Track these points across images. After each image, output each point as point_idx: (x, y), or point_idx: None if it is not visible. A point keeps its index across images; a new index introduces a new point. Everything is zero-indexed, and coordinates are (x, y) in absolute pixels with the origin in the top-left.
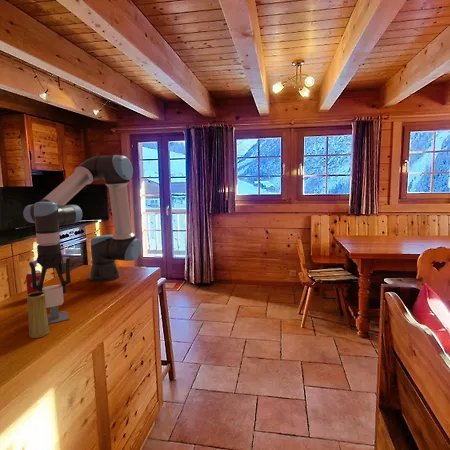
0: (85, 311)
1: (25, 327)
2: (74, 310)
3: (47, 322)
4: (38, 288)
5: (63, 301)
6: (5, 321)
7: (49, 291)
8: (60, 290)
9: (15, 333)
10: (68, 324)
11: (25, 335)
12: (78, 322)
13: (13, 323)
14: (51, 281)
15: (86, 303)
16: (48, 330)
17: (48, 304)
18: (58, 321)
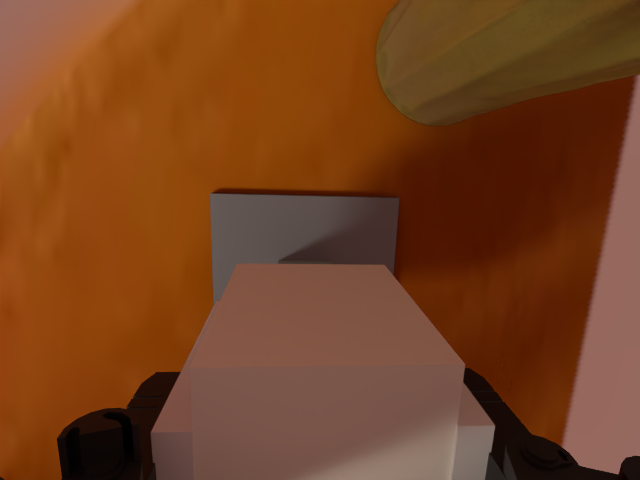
0: (79, 284)
1: (491, 240)
2: (156, 351)
3: (410, 2)
4: (568, 467)
5: (214, 307)
6: (565, 409)
7: (387, 348)
8: (210, 340)
9: (558, 177)
10: (233, 101)
11: None
12: (157, 90)
13: (535, 351)
14: None
15: (55, 437)
16: (387, 28)
17: (371, 274)
18: (291, 195)
